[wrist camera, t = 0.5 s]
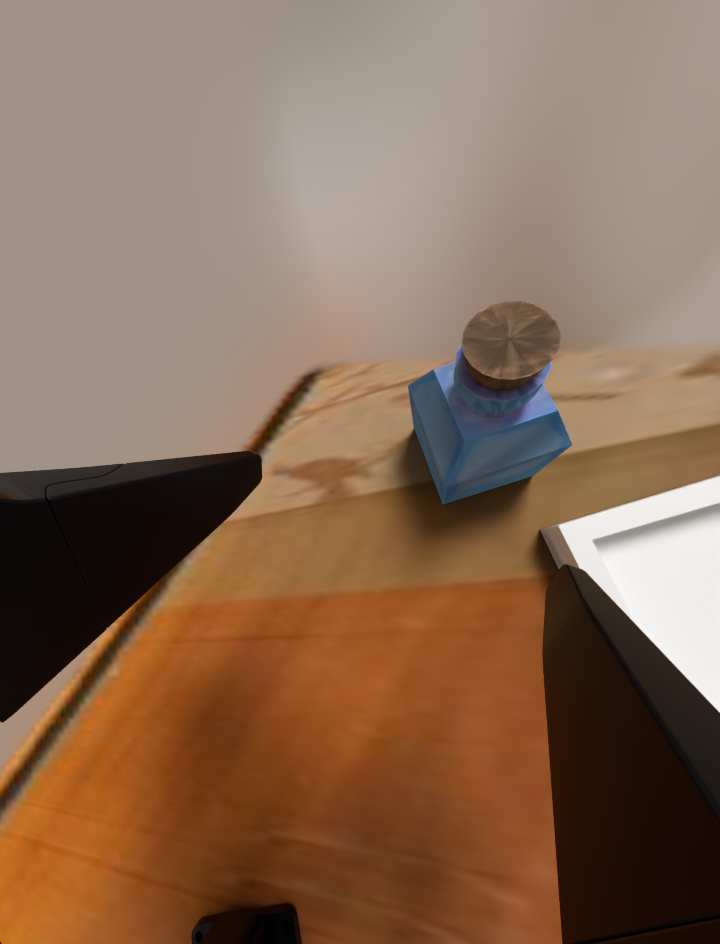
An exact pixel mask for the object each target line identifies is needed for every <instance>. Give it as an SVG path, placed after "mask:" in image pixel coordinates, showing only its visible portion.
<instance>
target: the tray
mask: <svg viewBox="0 0 720 944" xmlns="http://www.w3.org/2000/svg"><path fill="white" fill-rule="evenodd" d="M540 531H541V533H542V535H543V537H544V539H545V541H546V544H547V546H548V548H549V550H550V552H551V554H552V556H553V558H554V560H555V562H556V564H557V566H558V569H560V567H561V566H562V565H564V564H569V565H571V566H574V567H577V568H580V569H583V570H584V571H586V572H587V573H588V575H589V576H590V577H591V578H592V579H593V580H594V581H595V582H596V583H597V584H598V585H599V586H600V587H601V588H602V589H603V590H604V591H605V592H606V593H607V594H608V596H609V597H610V598H611V599H612V600H613V601H614V602H615V603H616V604H617V605H618V606H619V607H620V608H621V609H622V610H623V611H624V612H625V613H626V614H627V616H628V617H629V618H630V619H631V620H632V621H633V622H634V623H635V624H636V625H637V626H638V627H639V628H640V629H641V630H642V631H643V632H644V633H645V634H646V636H647V637H648V638H649V639H650V640H651V641H652V642H653V643H654V644H655V645H656V646H657V647H658V648H659V649H660V650H661V651H662V652H663V653H664V654H665V656H666V657H667V658H668V659H669V660H670V661H671V662H672V663H673V664H674V665H675V666H676V667H677V668H678V669H679V670H680V671H681V672H682V673H683V674H684V676H685V677H686V678H687V679H688V680H689V681H690V682H691V683H692V684H693V685H694V686H695V687H696V688H697V689H698V690H699V691H700V692H701V693H702V694H703V696H704V697H705V698H706V699H707V700H708V701H709V702H710V703H711V704H712V705H713V706H714V707H715V708H716V709H717V710H718V711H719V712H720V475H718V476H715V477H712V478H708V479H705V480H702V481H699V482H695V483H692V484H689V485H685V486H682V487H679V488H675V489H672V490H669V491H666V492H662V493H659V494H656V495H652V496H649V497H646V498H642V499H639V500H636V501H633V502H629V503H626V504H623V505H619V506H616V507H613V508H609V509H606V510H603V511H599V512H596V513H593V514H590V515H586V516H583V517H580V518H576V519H573V520H570V521H566V522H563V523H560V524H557V525H553V526H550V527H547V528H543V529H540Z"/></svg>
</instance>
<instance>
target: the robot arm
mask: <svg viewBox="0 0 720 944" xmlns="http://www.w3.org/2000/svg"><path fill="white" fill-rule="evenodd" d="M261 479H262V459H261V456H260V455H259V454H257V453H254V452H251V451H242V452H232V453H222V454H212V455H203V456H193V457H183V458H174V459H163V460H154V461H144V462H134V463H126V464H115V465H104V466H94V467H83V468H82V467H81V468H68V469H55V470H40V471H24V472H9V473H0V722H4V721H6V720H7V719H8V718H10V717H11V716H12V715H13V714H14V713H16V712H17V711H18V710H19V709H20V708H21V707H22V706H23V705H24V704H25V703H27V702H28V701H29V700H30V699H31V698H32V697H33V696H34V695H35V694H36V693H38V691H40V690H41V689H42V688H43V687H44V686H45V685H46V684H47V683H48V682H49V681H51V680H52V679H53V678H54V677H55V676H56V675H57V674H58V673H59V672H60V671H62V669H64V668H65V667H66V666H67V665H68V664H69V663H70V662H71V661H72V660H73V659H75V658H76V657H77V656H78V655H79V654H80V653H81V652H82V651H83V650H84V649H86V648H87V647H88V646H89V645H90V644H91V643H92V642H93V641H94V640H95V639H96V638H98V637H99V636H100V635H101V634H102V633H103V632H104V631H105V630H106V628H108V627H109V626H110V625H111V624H113V623H114V622H115V621H116V620H117V619H118V618H119V617H120V616H121V615H122V614H123V613H125V612H126V611H127V610H128V609H129V608H130V607H131V606H132V605H133V604H134V603H135V602H137V601H138V600H139V599H140V598H141V597H142V596H143V595H144V594H145V593H146V592H147V591H149V590H150V589H151V588H152V587H153V586H154V585H155V584H156V583H157V582H158V581H160V580H161V579H162V578H163V577H164V576H165V575H166V574H167V573H168V572H169V571H170V570H172V569H173V568H174V567H175V566H176V565H177V564H178V563H179V562H180V561H181V560H182V559H184V558H185V557H186V556H187V555H188V554H189V553H190V552H191V551H192V550H193V549H195V548H196V547H197V546H198V545H199V544H200V543H201V542H202V541H203V540H204V539H205V538H207V537H208V536H209V535H210V534H211V533H212V532H213V531H214V530H215V529H216V528H217V527H219V526H220V525H221V524H222V523H223V522H224V521H225V520H226V519H227V518H228V517H229V516H230V515H231V514H232V513H233V512H234V511H235V510H236V509H237V508H238V507H239V506H240V505H241V503H242V502H243V501H244V500H245V499H246V498H247V497H248V496H249V495H250V493H251V492H252V491H253V490H254V489H255V488H256V487H257V486H258V484H259V483H260V482H261ZM542 654H543V672H544V687H545V701H546V715H547V730H548V744H549V758H550V773H551V787H552V801H553V815H554V830H555V844H556V858H557V873H558V887H559V901H560V916H561V930H562V943H563V944H720V712H719V711H718V710H717V709H716V708H715V707H714V706H713V705H712V704H711V703H710V702H709V701H708V700H707V699H706V698H705V697H704V696H703V694H702V693H701V692H700V691H699V690H698V689H697V688H696V687H695V686H694V685H693V684H692V683H691V682H690V681H689V680H688V679H687V678H686V677H685V676H684V674H683V673H682V672H681V671H680V670H679V669H678V668H677V667H676V666H675V665H674V664H673V663H672V662H671V661H670V660H669V659H668V658H667V657H666V656H665V654H664V653H663V652H662V651H661V650H660V649H659V648H658V647H657V646H656V645H655V644H654V643H653V642H652V641H651V640H650V639H649V638H648V637H647V636H646V634H645V633H644V632H643V631H642V630H641V629H640V628H639V627H638V626H637V625H636V624H635V623H634V622H633V621H632V620H631V619H630V618H629V617H628V616H627V614H626V613H625V612H624V611H623V610H622V609H621V608H620V607H619V606H618V605H617V604H616V603H615V602H614V601H613V600H612V599H611V598H610V597H609V596H608V594H607V593H606V592H605V591H604V590H603V589H602V588H601V587H600V586H599V585H598V584H597V583H596V582H595V581H594V580H593V579H592V578H591V577H590V576H589V575H588V573H587V572H586V571H584V570H583V569H580V568H577V567H574V566H571V565H569V564H564V565H562V566H561V567H560V569H559V570H558V572H557V573H556V575H555V577H554V578H553V580H552V581H551V583H550V584H549V586H548V588H547V591H546V598H545V615H544V631H543V653H542ZM285 918H287V919H288V920H289V922H287V920H286V919H285ZM202 934H203V935H202ZM0 944H1V942H0ZM192 944H301V937H300V931H299V924H298V918H297V913H296V910H295V908H294V907H293V906H292V905H291V904H283V905H277V906H271V907H264V908H258V909H255V908H253V909H246V910H240V911H234V912H228V913H222V914H218V915H215V916H209V917H203V918H201V919H200V920H199V921H198V923H197V924H196V926H195V927H194V929H193V932H192Z"/></svg>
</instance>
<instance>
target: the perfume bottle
mask: <svg viewBox="0 0 720 944" xmlns="http://www.w3.org/2000/svg"><path fill="white" fill-rule="evenodd" d="M559 347H560V331H559V328H558V325H557V323H556V321H555V320H554V319H553V318H552V316H551V315H550V314H549V313H548V312H546V311H545V310H543V309H541V308H540V307H538V306H536V305H533V304H529V303H525V302H521V301H516V302H502V303H499V304H495V305H491V306H489V307H487V308H485V309H484V310H482V311H480V312H478V313H477V314H476V315H475V316H474V317H473V318H472V319H471V320H470V321H469V322H468V324H467V326H466V328H465V330H464V332H463V337H462V344H461V346H460V348H459V350H458V351H457V354H456V361H454V362H451V363H449V364H446V365H443V366H441V367H438V368H436V369H433V370H432V371H430V372H429V373H427V374H426V375H424V376H422V377H421V378H419V379H418V380H416V381H415V382H413V383H412V384H410V385H409V386H408V389H409V396H410V403H411V410H412V417H413V424H414V429H415V432H416V435H417V437H418V440H419V443H420V445H421V448H422V451H423V453H424V456H425V459H426V461H427V464H428V467H429V469H430V472H431V475H432V477H433V480H434V483H435V485H436V488H437V491H438V493H439V496H440V499H441V501H442V504H447V503H450V502H453V501H456V500H459V499H462V498H465V497H469V496H472V495H475V494H478V493H481V492H484V491H488V490H491V489H494V488H497V487H500V486H503V485H507V484H510V483H513V482H516V481H519V480H522V479H525V478H529V477H532V476H533V475H535V474H536V473H537V472H538V471H540V470H541V469H542V468H544V467H545V466H546V465H547V464H549V463H550V462H551V461H552V460H554V459H555V458H556V457H557V456H559V455H560V454H561V453H563V452H564V451H565V450H566V449H568V448H569V447H570V446H571V445H572V443H571V441H570V439H569V436H568V434H567V431H566V429H565V426H564V424H563V422H562V419H561V417H560V414H559V412H558V410H557V408H556V406H555V404H554V403H553V401H552V399H551V397H550V395H549V394H548V392H547V390H546V388H545V386H544V385H543V383H544V381H545V380H546V378H547V375H548V373H549V371H550V369H551V361H552V360H553V359H554V357H555V355H556V353H557V351H558V349H559Z"/></svg>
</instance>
